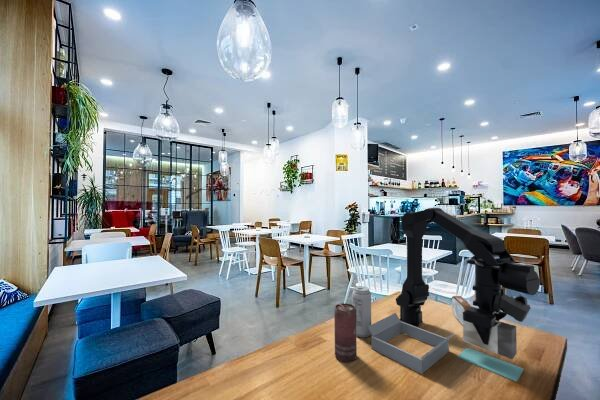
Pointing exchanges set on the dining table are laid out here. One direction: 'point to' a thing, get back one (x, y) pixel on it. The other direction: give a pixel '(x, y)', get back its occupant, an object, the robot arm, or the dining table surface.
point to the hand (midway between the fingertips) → (488, 341)
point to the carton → (394, 327)
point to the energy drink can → (362, 310)
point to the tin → (459, 307)
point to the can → (345, 332)
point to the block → (493, 338)
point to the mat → (491, 364)
